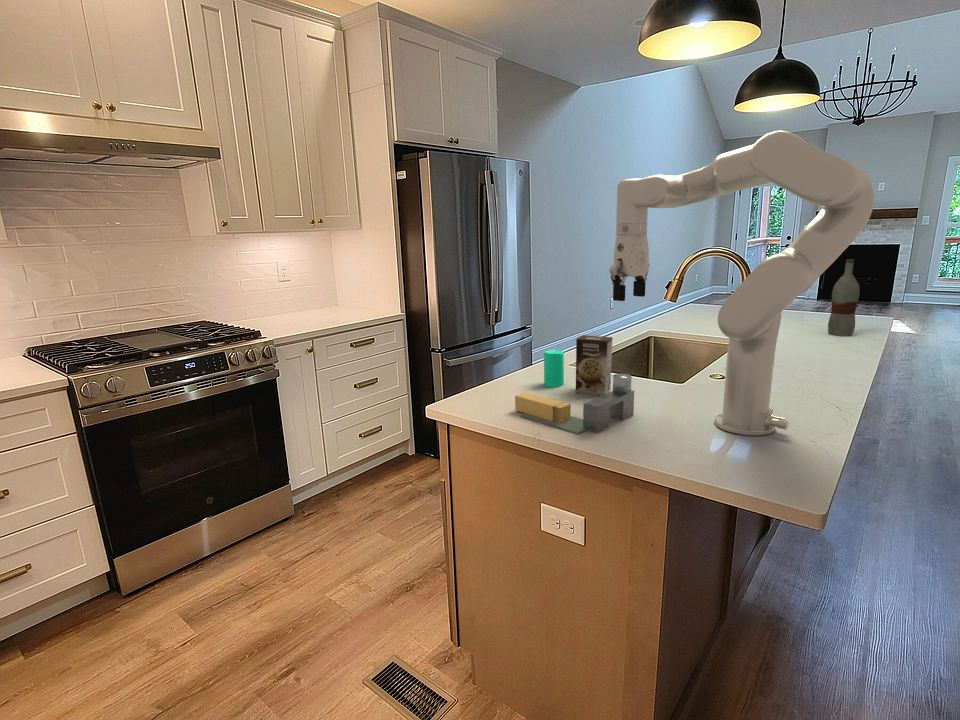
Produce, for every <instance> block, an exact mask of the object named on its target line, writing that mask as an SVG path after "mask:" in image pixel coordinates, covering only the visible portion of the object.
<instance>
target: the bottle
mask: <svg viewBox="0 0 960 720" xmlns="http://www.w3.org/2000/svg"><path fill="white" fill-rule="evenodd" d="M854 262H855V259H846V260H845V267H844V273H843V275H842V276H840V278H838V280H837V281H836V283H834V285H833V289H832V291H831V313H830V315H829V318H828V323H827V331H828V335H830V336H834V337H851V336H853V334H854V332H855V328H856V311H857V306H858V301H859V297H860V291H861V289H860V284H859V282H858V281H857V279H856V278H855V275H854V274H853V271H854Z"/></svg>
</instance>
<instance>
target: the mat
mask: <svg viewBox="0 0 960 720" xmlns="http://www.w3.org/2000/svg"><path fill="white" fill-rule="evenodd" d="M520 418H523V419H526V420H530V421H533V422H537V423H539V424H543V425H545V426H549V427H553V428H555V429H559V430H562V431H565V432H568V433H572V434H575V435H580V434H581V433H583V432H586V431H588V430H587V429H586V428H583V418H580V417H576V416H573V415H570V420H567V421H565V422H563V423H561V424H560V423H557V422H554V421H550V420H547V419H543V418H540V417H537V416H533V415H530V414H527V413H522V414H520Z"/></svg>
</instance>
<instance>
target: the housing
mask: <svg viewBox="0 0 960 720" xmlns="http://www.w3.org/2000/svg"><path fill="white" fill-rule="evenodd" d="M582 406H583V411H582V413H583V414H582V419H583V428H586V429H587V430H586V431H589V432H591V433H595V434H599V433H601V432H602V431H605V430H607V429H608V428H610V418H613V419H616V420H619V421H624V420H626V419H629V418H631V417H633V416H634V414H635V413H634V411H635V409H634V408H635V390H633V389H632V375H631V374H628V373H616V374H614V375H613V376H612V391H611V390H610V391H609V392H608V393H607V394H604V395H599V396H598V397H595V398H592V399H591V400H588V401H586V402H583V404H582Z"/></svg>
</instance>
